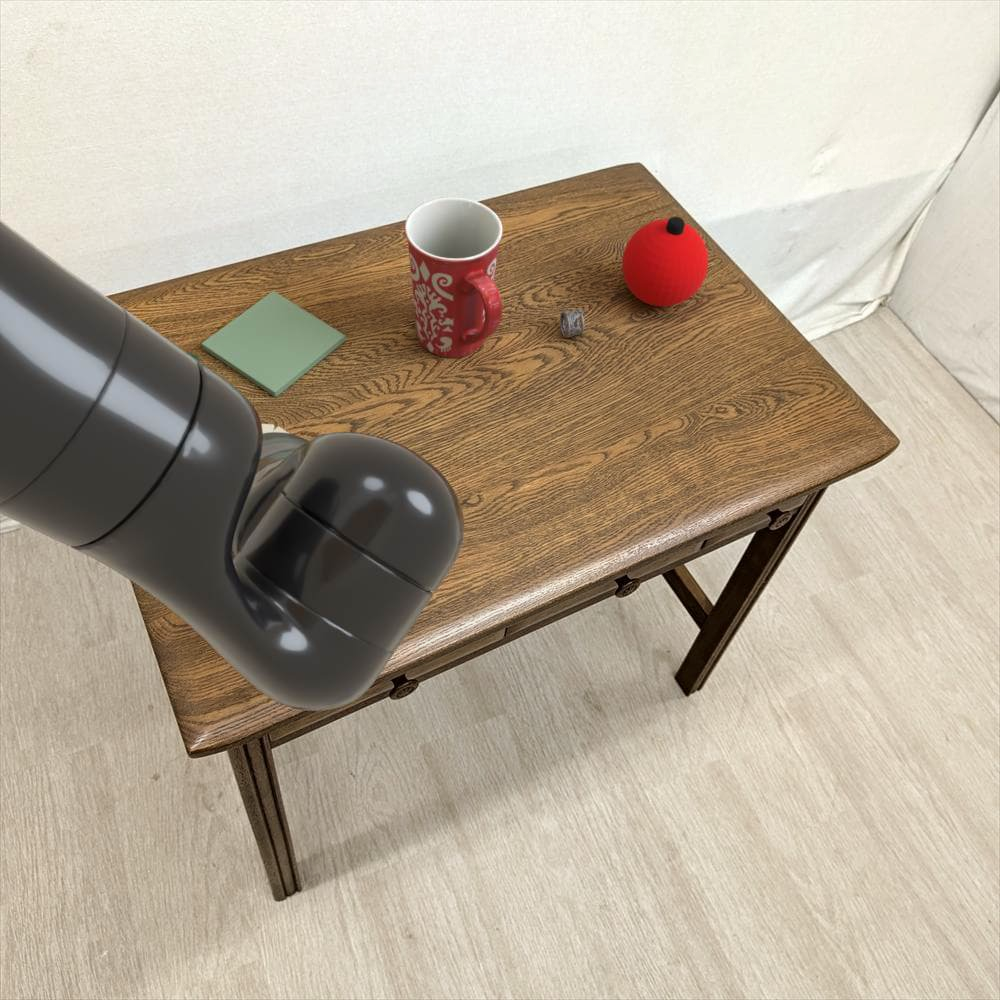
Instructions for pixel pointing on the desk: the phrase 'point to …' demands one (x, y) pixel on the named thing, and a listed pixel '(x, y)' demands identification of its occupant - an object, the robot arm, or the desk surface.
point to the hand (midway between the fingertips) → (256, 471)
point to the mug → (454, 274)
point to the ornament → (665, 262)
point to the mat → (273, 343)
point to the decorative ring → (571, 323)
